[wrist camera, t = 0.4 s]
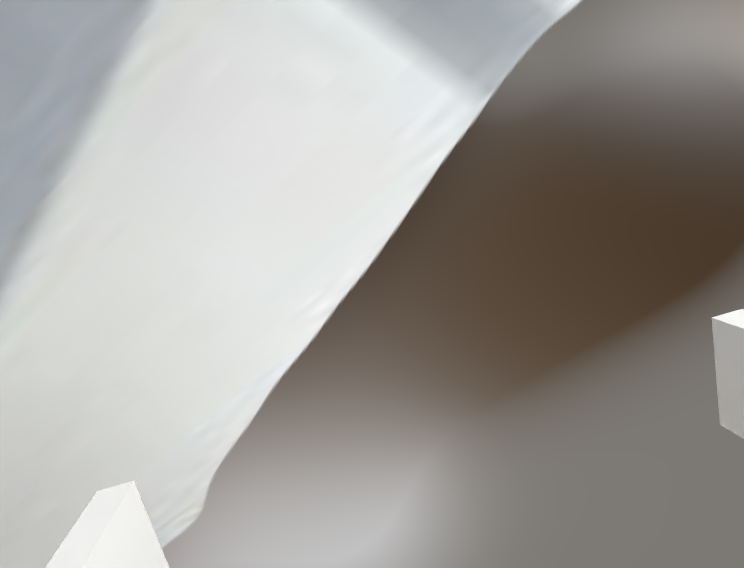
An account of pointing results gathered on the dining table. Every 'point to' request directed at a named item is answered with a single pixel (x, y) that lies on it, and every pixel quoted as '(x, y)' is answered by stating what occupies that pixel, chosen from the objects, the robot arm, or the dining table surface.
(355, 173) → the dining table surface
